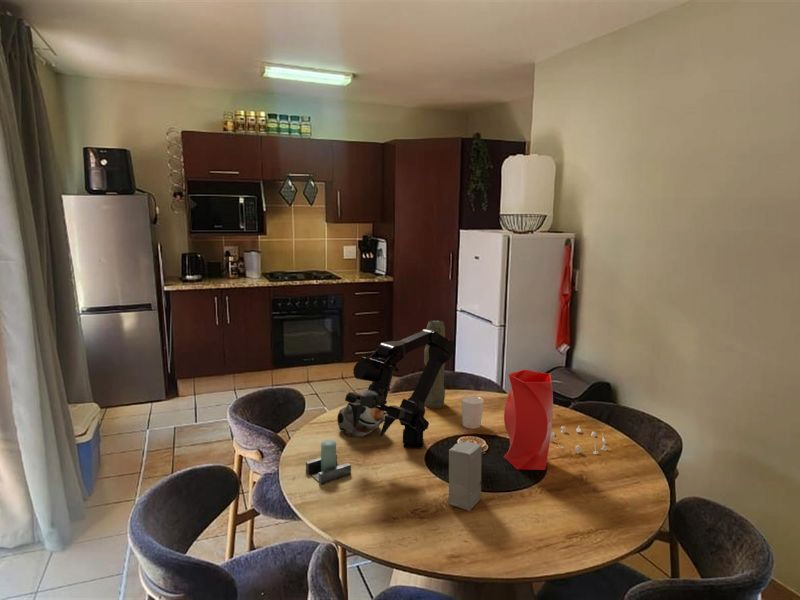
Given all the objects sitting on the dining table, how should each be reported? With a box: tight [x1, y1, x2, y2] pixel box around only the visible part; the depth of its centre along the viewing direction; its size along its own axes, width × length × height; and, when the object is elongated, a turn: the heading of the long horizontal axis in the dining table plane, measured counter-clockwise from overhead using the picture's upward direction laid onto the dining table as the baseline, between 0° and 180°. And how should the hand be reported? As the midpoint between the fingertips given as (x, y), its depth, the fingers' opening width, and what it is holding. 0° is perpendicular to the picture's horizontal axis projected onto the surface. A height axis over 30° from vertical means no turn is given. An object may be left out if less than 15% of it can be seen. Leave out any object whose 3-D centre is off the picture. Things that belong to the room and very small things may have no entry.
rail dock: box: [305, 453, 352, 485], centre depth 154 cm, size 10×10×3 cm
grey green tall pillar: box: [423, 319, 447, 409], centre depth 209 cm, size 9×12×35 cm
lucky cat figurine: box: [336, 403, 388, 438], centre depth 183 cm, size 17×14×16 cm
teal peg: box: [320, 439, 337, 472], centre depth 154 cm, size 4×4×9 cm
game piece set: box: [550, 425, 609, 455], centre depth 178 cm, size 19×20×4 cm
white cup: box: [461, 395, 484, 430], centre depth 190 cm, size 8×8×10 cm
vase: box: [503, 369, 554, 471], centre depth 161 cm, size 15×14×28 cm
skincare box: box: [448, 439, 483, 512], centre depth 139 cm, size 8×7×16 cm
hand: (367, 431), depth 159 cm, fingers open, 9 cm apart
